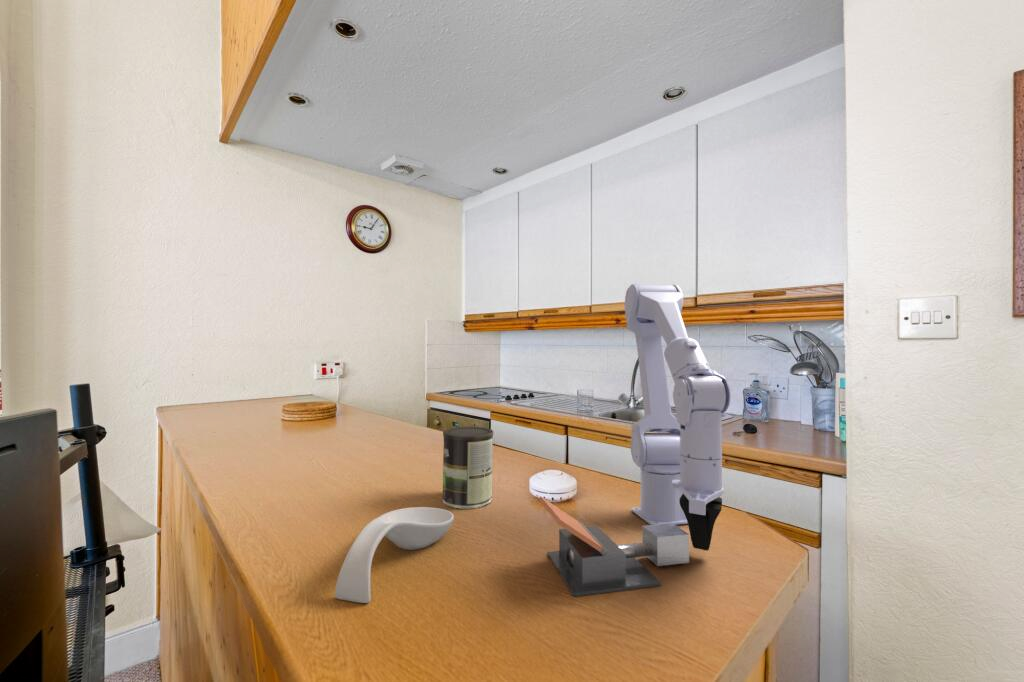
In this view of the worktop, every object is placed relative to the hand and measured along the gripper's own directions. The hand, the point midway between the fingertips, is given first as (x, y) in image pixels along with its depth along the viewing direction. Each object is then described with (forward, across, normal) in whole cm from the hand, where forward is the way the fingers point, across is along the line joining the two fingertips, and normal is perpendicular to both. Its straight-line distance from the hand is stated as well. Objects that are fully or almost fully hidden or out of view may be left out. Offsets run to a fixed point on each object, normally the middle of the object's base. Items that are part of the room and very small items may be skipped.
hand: (701, 547), depth 62 cm
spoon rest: (+2, +21, -39) cm, 45 cm away
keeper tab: (-5, +14, -16) cm, 21 cm away
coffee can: (+2, -3, -44) cm, 44 cm away
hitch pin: (+1, +8, -9) cm, 12 cm away
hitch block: (+1, +11, -12) cm, 16 cm away
